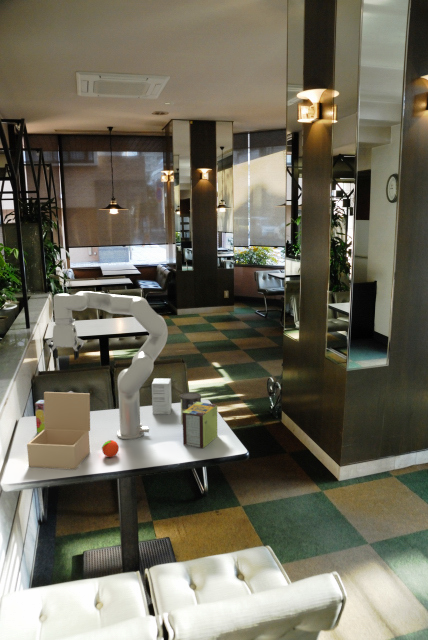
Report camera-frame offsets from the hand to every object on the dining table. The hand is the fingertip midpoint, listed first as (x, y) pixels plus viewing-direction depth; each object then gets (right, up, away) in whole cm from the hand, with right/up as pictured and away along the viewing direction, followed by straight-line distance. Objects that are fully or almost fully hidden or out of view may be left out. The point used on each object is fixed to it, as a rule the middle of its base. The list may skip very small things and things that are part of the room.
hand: (66, 358), depth 229 cm
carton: (+2, -42, -14) cm, 44 cm away
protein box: (+60, -38, +4) cm, 72 cm away
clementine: (+22, -41, -12) cm, 48 cm away
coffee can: (+55, -34, +26) cm, 70 cm away
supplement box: (+39, -31, +42) cm, 65 cm away
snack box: (-8, -36, +16) cm, 40 cm away
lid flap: (+3, -22, -8) cm, 24 cm away
